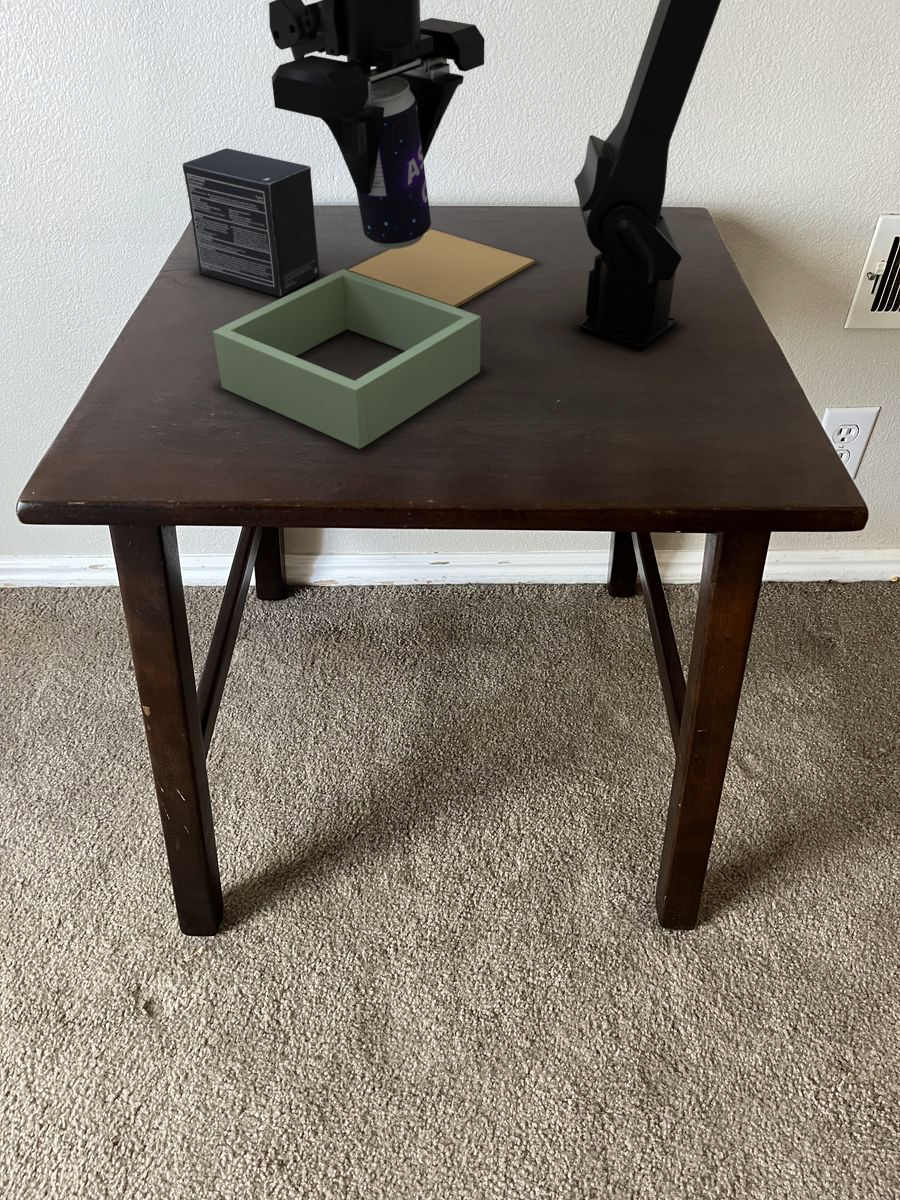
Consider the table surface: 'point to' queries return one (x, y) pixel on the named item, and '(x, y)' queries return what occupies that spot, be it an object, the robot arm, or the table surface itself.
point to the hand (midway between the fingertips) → (389, 182)
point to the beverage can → (396, 172)
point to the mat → (443, 268)
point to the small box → (253, 220)
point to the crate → (331, 401)
